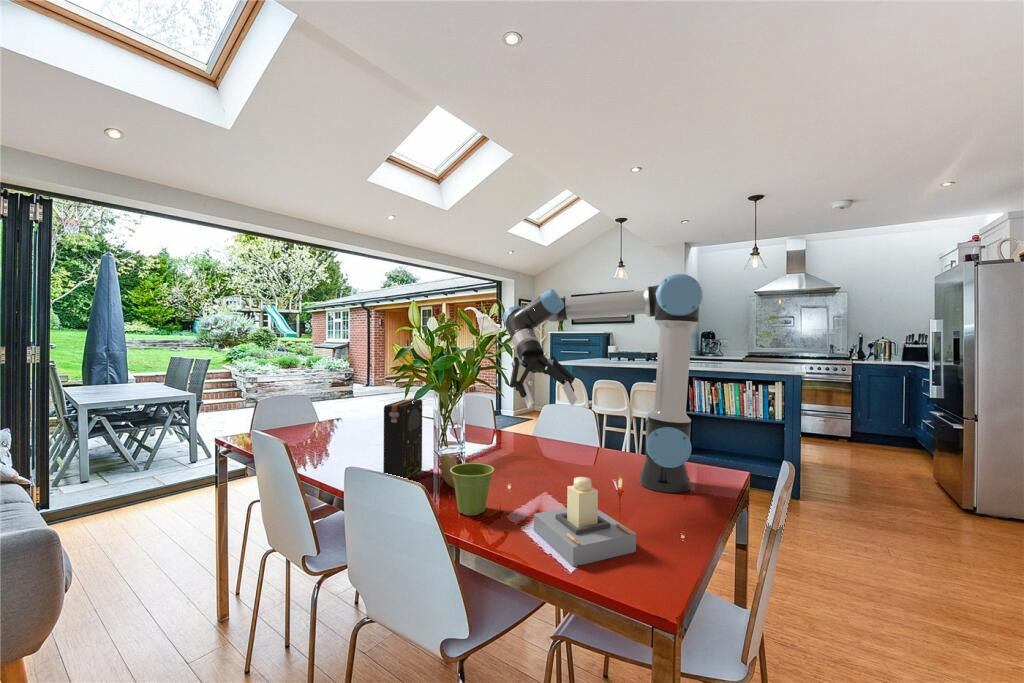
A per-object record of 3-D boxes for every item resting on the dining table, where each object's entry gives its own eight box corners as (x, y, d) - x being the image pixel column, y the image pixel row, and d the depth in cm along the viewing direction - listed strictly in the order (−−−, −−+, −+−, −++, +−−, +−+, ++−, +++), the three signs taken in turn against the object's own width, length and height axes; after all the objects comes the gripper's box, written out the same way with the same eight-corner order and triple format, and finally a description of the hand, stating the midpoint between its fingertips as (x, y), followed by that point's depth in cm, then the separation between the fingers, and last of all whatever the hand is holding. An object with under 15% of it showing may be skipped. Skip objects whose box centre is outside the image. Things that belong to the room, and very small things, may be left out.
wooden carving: (477, 491, 131) (477, 458, 130) (464, 495, 127) (465, 461, 127) (445, 478, 143) (445, 448, 142) (433, 481, 139) (433, 450, 139)
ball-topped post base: (589, 519, 111) (589, 500, 111) (635, 551, 95) (636, 529, 95) (533, 530, 105) (533, 509, 105) (573, 566, 88) (573, 542, 88)
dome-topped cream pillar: (585, 517, 103) (585, 475, 103) (597, 525, 98) (597, 481, 98) (567, 520, 101) (567, 477, 101) (578, 529, 96) (579, 484, 96)
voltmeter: (405, 484, 136) (405, 405, 136) (380, 482, 138) (380, 404, 137) (425, 469, 151) (425, 398, 151) (402, 468, 153) (402, 397, 153)
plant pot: (501, 514, 114) (502, 471, 114) (459, 523, 108) (460, 478, 108) (482, 499, 124) (482, 460, 124) (443, 507, 118) (443, 466, 118)
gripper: (558, 354, 139) (585, 408, 126) (486, 356, 128) (507, 415, 115) (567, 338, 134) (596, 393, 121) (493, 338, 124) (516, 398, 110)
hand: (553, 404), depth 118 cm, fingers open, 13 cm apart
